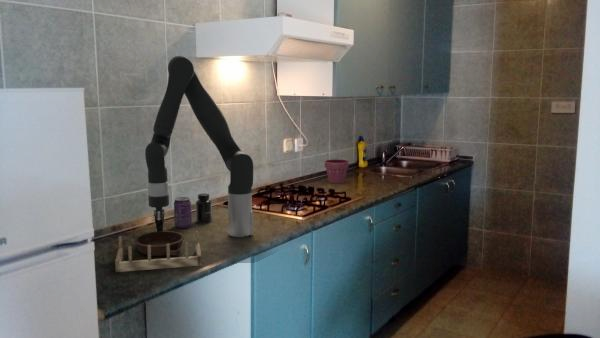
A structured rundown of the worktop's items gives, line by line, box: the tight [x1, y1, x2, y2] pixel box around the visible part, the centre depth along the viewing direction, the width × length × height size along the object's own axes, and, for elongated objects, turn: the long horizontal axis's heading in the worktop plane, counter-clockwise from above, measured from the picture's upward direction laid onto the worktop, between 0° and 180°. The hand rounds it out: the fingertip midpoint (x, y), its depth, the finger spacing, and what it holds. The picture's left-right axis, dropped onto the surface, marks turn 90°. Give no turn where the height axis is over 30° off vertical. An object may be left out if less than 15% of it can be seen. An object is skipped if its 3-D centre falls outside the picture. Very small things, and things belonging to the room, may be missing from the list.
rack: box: [114, 230, 203, 273], centre depth 181 cm, size 27×15×8 cm, turn 104°
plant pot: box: [324, 158, 350, 184], centre depth 313 cm, size 14×14×13 cm
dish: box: [133, 230, 185, 257], centre depth 192 cm, size 18×22×5 cm
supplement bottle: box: [195, 192, 213, 224], centre depth 229 cm, size 7×7×12 cm
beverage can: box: [173, 196, 193, 229], centre depth 221 cm, size 7×7×12 cm
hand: (160, 237), depth 203 cm, fingers closed
